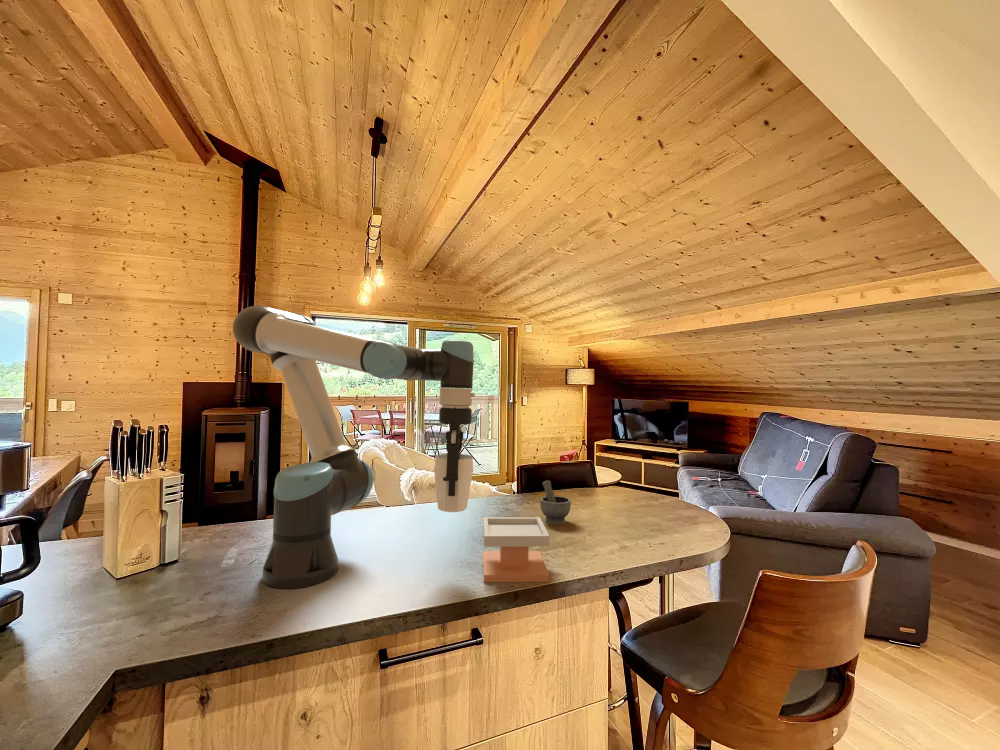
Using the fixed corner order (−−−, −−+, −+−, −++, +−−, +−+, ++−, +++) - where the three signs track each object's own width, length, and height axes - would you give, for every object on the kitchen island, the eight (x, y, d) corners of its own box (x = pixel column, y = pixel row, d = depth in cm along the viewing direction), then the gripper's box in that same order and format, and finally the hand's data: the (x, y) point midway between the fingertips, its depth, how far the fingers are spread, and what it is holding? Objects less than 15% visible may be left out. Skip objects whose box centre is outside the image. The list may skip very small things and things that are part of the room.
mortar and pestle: (577, 523, 136) (577, 484, 137) (552, 528, 132) (552, 487, 132) (555, 514, 146) (556, 478, 147) (531, 518, 142) (532, 480, 142)
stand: (483, 582, 94) (484, 536, 94) (482, 557, 108) (483, 517, 108) (548, 581, 95) (549, 536, 95) (539, 557, 109) (539, 517, 109)
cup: (465, 515, 97) (467, 460, 97) (426, 511, 99) (428, 458, 99) (476, 505, 106) (477, 454, 106) (440, 502, 107) (442, 452, 108)
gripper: (471, 409, 92) (467, 518, 92) (472, 405, 114) (469, 493, 113) (435, 408, 92) (431, 517, 91) (443, 404, 113) (439, 493, 113)
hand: (452, 504), depth 102 cm, fingers closed on cup, 9 cm apart
